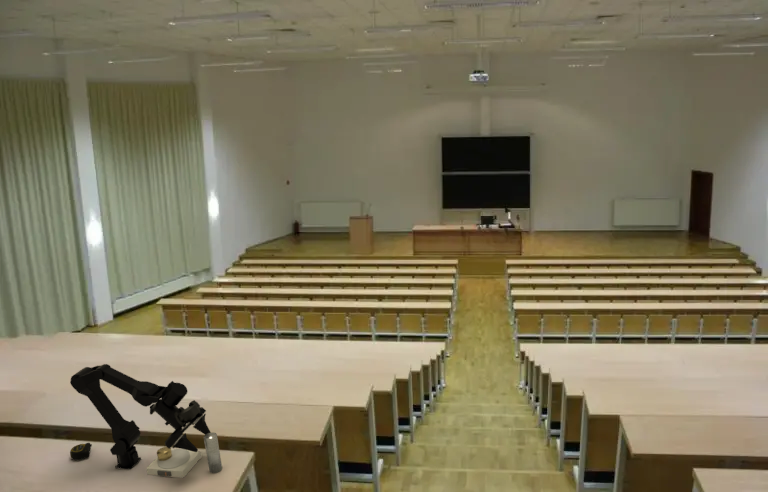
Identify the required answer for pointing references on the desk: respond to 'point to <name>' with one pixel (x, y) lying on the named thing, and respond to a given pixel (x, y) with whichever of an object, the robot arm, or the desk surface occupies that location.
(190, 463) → the scale
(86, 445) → the tape measure
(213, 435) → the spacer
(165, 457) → the brass weight
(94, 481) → the desk surface
